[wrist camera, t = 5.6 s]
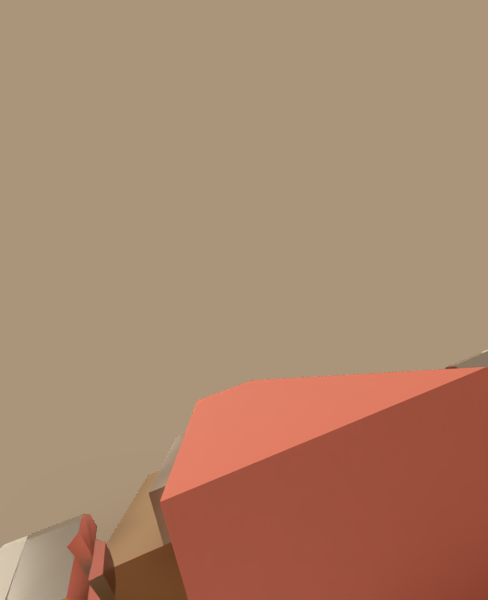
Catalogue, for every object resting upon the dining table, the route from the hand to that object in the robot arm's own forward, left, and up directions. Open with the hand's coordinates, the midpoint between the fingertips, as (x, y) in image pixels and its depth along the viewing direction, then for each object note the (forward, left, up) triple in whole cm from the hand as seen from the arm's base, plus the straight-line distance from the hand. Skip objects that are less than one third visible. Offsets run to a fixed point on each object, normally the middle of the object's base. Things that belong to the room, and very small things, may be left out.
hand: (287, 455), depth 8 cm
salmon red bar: (0, +7, -2) cm, 7 cm away
